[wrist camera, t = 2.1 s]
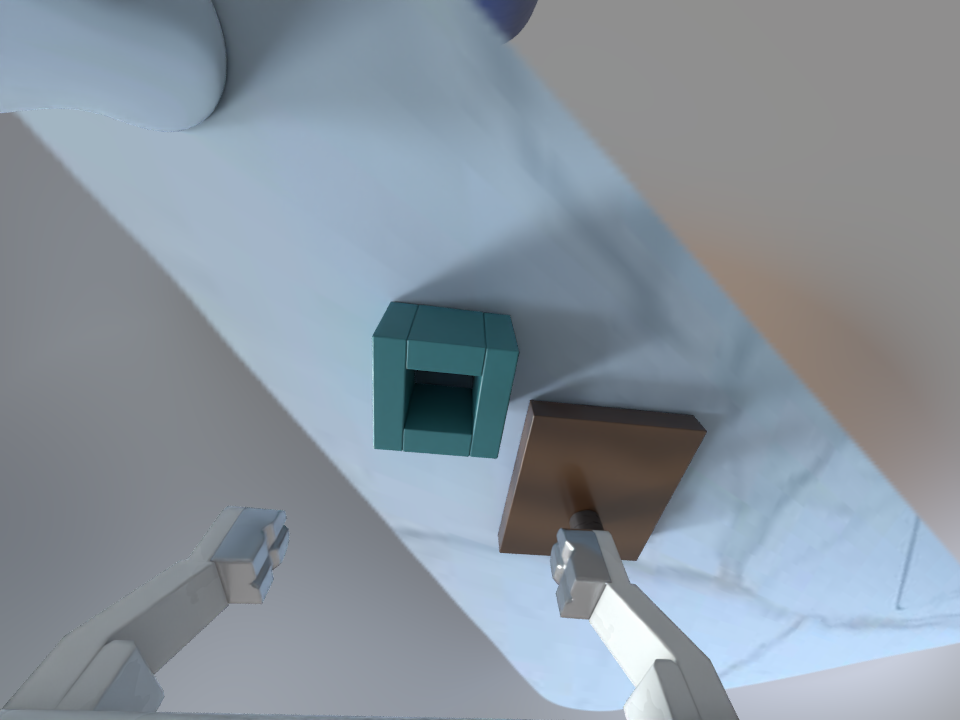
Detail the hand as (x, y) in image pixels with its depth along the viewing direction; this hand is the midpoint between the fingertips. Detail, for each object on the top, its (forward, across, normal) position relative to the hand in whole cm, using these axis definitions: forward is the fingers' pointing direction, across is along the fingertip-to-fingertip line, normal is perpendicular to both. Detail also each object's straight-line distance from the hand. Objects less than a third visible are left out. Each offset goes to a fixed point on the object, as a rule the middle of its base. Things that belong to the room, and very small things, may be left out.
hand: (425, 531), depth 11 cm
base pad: (+10, -10, +8) cm, 16 cm away
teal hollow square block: (+10, 0, 0) cm, 10 cm away
